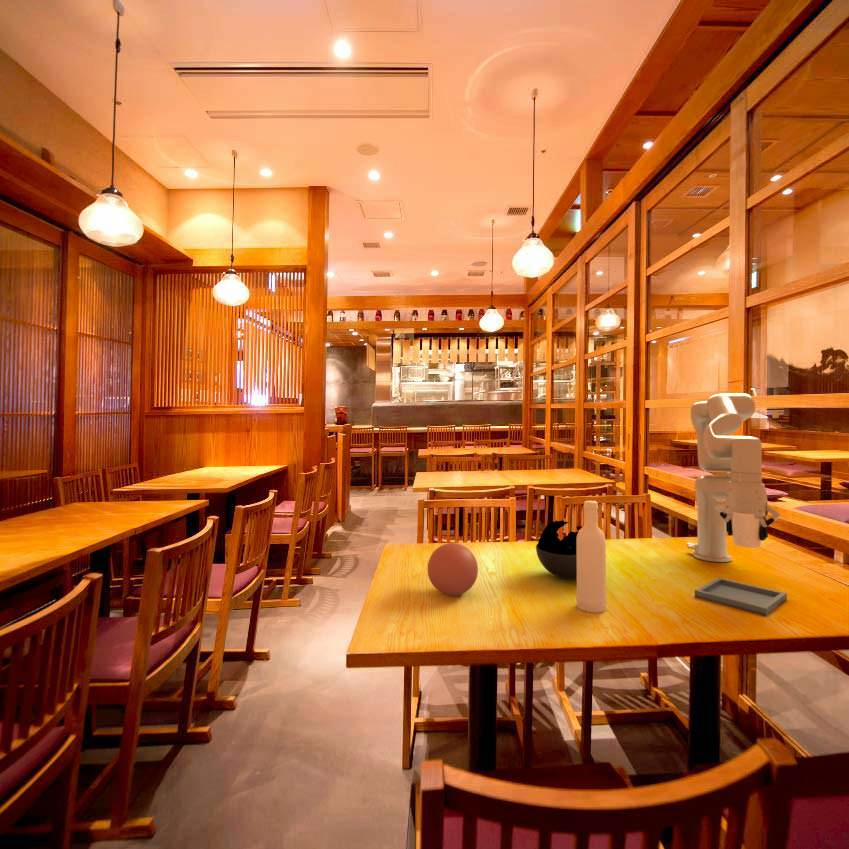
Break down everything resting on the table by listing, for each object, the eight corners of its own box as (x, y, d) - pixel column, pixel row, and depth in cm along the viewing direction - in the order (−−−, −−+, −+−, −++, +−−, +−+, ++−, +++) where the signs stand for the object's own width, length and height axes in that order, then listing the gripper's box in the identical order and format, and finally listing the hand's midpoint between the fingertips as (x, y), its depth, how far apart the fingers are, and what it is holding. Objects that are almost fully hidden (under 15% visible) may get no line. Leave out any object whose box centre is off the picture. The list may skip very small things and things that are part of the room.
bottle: (602, 615, 129) (602, 504, 128) (573, 609, 133) (572, 502, 133) (608, 605, 135) (608, 500, 135) (580, 600, 140) (580, 498, 139)
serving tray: (694, 597, 142) (694, 590, 142) (718, 583, 153) (718, 577, 153) (766, 616, 128) (766, 608, 128) (786, 600, 139) (786, 593, 139)
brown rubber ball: (463, 578, 159) (463, 533, 159) (485, 600, 140) (485, 548, 140) (419, 582, 156) (418, 536, 156) (435, 605, 136) (434, 552, 136)
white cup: (757, 542, 145) (757, 510, 145) (767, 549, 137) (767, 514, 137) (727, 541, 147) (727, 508, 147) (735, 547, 140) (735, 513, 140)
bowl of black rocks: (530, 568, 171) (530, 515, 171) (587, 568, 170) (586, 515, 170) (543, 587, 151) (542, 528, 151) (606, 587, 150) (606, 528, 150)
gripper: (709, 476, 146) (709, 534, 146) (777, 481, 133) (778, 544, 133) (718, 475, 151) (718, 530, 151) (785, 479, 138) (785, 540, 138)
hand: (746, 536), depth 142 cm, fingers closed on white cup, 7 cm apart
